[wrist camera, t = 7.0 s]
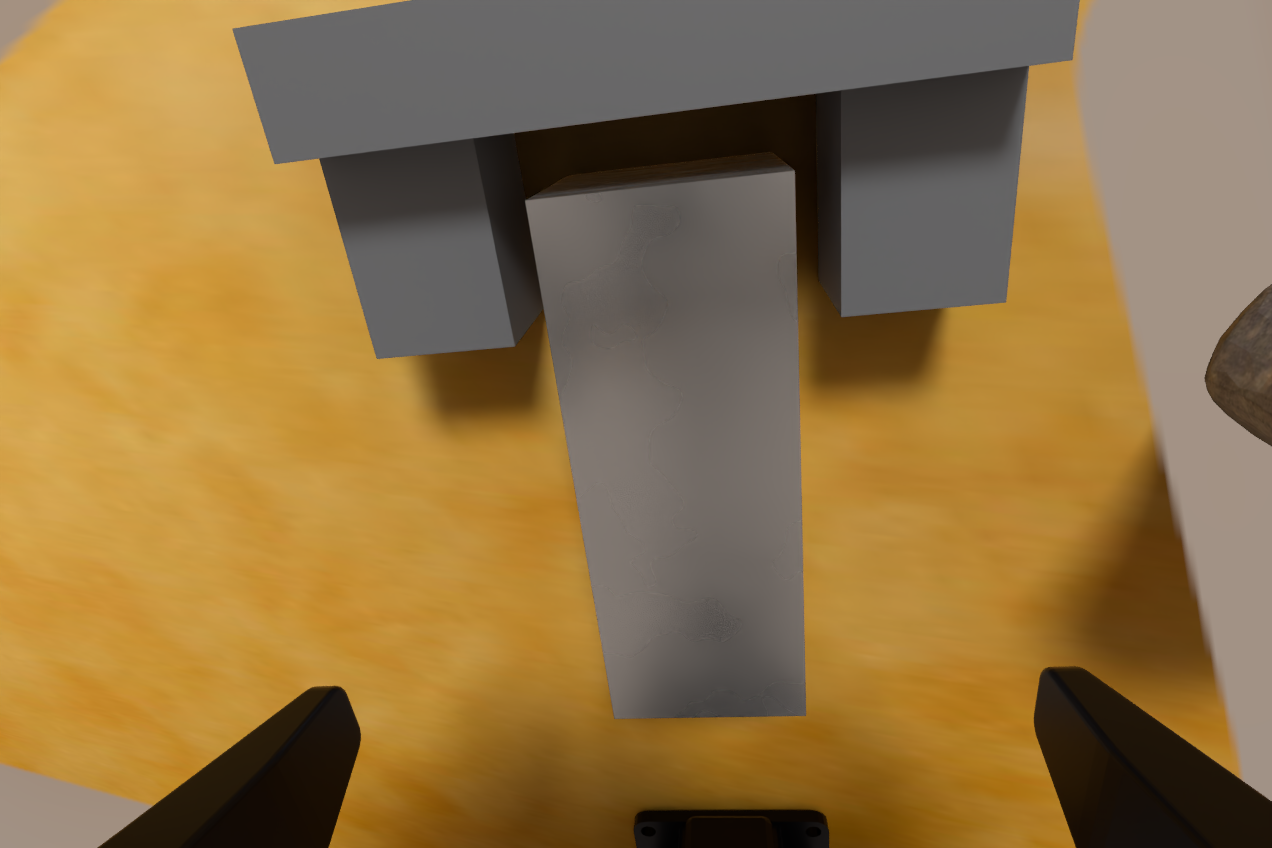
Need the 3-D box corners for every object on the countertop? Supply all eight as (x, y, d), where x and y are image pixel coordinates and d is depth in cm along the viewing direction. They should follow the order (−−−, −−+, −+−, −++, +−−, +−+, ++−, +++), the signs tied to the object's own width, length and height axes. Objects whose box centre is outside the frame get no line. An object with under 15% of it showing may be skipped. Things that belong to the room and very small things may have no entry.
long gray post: (785, 592, 20) (806, 715, 16) (631, 597, 21) (614, 718, 17) (770, 150, 15) (794, 170, 11) (570, 173, 16) (525, 200, 12)
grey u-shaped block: (954, 267, 16) (1040, 326, 12) (427, 318, 18) (344, 385, 13) (975, -47, 13) (1091, -108, 9) (359, 46, 15) (231, 28, 11)
